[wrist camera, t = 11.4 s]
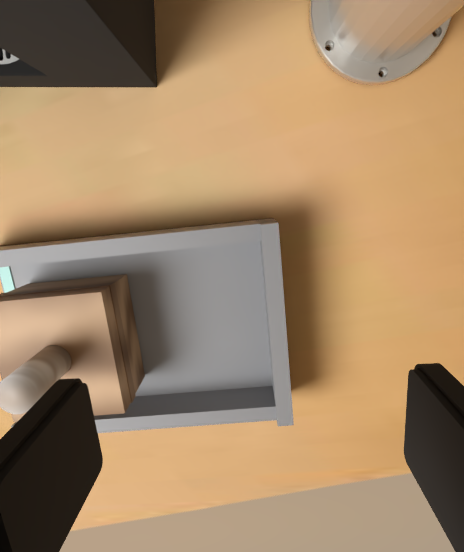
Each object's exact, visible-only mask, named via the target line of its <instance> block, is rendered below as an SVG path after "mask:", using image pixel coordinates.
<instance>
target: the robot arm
mask: <svg viewBox="0 0 464 552" xmlns="http://www.w3.org/2000/svg"><path fill="white" fill-rule="evenodd" d="M463 6H464V0H310V7H309V20H310V29H311V33H312V38H313V41H314V43H315V46H316V48H317V50H318V53H319V54H320V55H321V57H322V58H323V60H324V61H325V63H326V64H327V65H328V66H329V67H330V68H331V69H332V70H333V71H334V72H335V73H337V74H338V75H340V76H342V77H343V78H345V79H347V80H350V81H352V82H355V83H359V84H366V85H378V84H385V83H389V82H392V81H396V80H398V79H400V78H402V77H404V76H406V75H408V74H409V73H411V72H412V71H414V70H415V69H416V68H418V67H419V66H420V65H421V64H422V63H424V62H425V61H426V60H427V59H428V58H429V57H430V56H431V54H432V53H433V52H434V51H435V50H436V48H437V47H438V46H439V44H440V42H441V41H442V39H443V37H444V36H445V34H446V31H447V28H448V26H449V23H450V21H451V18H452V16H453V15H454V14H455V13H456V12H457V11H459V10H460V9H461V8H462V7H463ZM432 33H433V34H434V36H433V35H432ZM325 47H329V48H330V51H327V50H326V49H325ZM378 73H381V74H382V77H380V76H379V74H378ZM404 455H405V459H406V462H407V464H408V466H409V468H410V470H411V472H412V474H413V475H414V477H415V479H416V481H417V483H418V484H419V486H420V488H421V490H422V492H423V494H424V495H425V497H426V499H427V501H428V503H429V504H430V506H431V508H432V510H433V512H434V513H435V515H436V517H437V518H438V521H439V522H440V524H441V526H442V528H443V530H444V532H445V533H446V535H447V537H448V539H449V540H450V542H451V544H452V546H453V548H454V550H455V551H456V552H464V386H463V385H462V384H461V383H460V382H459V381H458V380H457V379H456V378H455V377H454V376H453V375H452V374H450V373H449V372H448V371H447V370H446V369H445V368H444V367H443V366H442V365H441V364H439V363H434V364H417V365H416V366H415V369H414V370H410V371H409V375H408V390H407V407H406V424H405V440H404ZM102 461H103V459H102V453H101V448H100V443H99V438H98V433H97V428H96V424H95V419H94V414H93V409H92V404H91V399H90V394H89V389H88V386H87V384H86V383H82V381H81V379H79V378H73V379H59V380H57V381H56V382H55V383H54V384H53V385H52V386H51V387H50V388H49V389H48V391H47V392H46V393H45V394H44V395H43V396H42V397H41V398H40V399H39V400H38V401H37V402H36V403H35V404H34V405H33V406H32V407H31V408H30V409H29V410H28V411H27V412H26V413H25V414H24V415H23V416H22V418H21V419H20V420H19V421H18V422H17V423H16V424H15V425H14V426H13V427H12V428H11V429H10V430H9V431H8V432H7V433H6V434H5V435H4V436H3V437H2V438H1V439H0V552H59V551H60V549H61V547H62V545H63V543H64V541H65V539H66V537H67V535H68V533H69V531H70V529H71V527H72V526H73V524H74V522H75V520H76V518H77V516H78V514H79V512H80V510H81V508H82V506H83V504H84V502H85V500H86V498H87V496H88V494H89V492H90V491H91V489H92V487H93V485H94V483H95V481H96V479H97V477H98V475H99V473H100V471H101V468H102Z"/></svg>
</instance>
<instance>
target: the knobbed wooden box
mask: <svg viewBox="0 0 464 552" xmlns="http://www.w3.org/2000/svg"><path fill="white" fill-rule="evenodd" d="M0 375H1V378H2V381H1V382H0V408H2V409H3V410H4V411H6V412H8V413H11V414H12V418H13V421H14V422H17V421H19V420H20V419H21V418H22V416H23V415H24V414H25V413H26V412H27V411H28V410H29V409H30V408H31V407H32V406H33V405H34V404H35V403H36V402H37V401H38V400H39V399H40V398H41V397H42V396H43V395H44V394H45V393H46V392H47V391H48V389H49V388H50V387H51V386H52V385H53V384H54V383H55V382H56V381H57V380H59V379H73V378H79V379H81V381H82V383H86V384H87V386H88V389H89V394H90V399H91V404H92V409H93V414H94V416H96V415H109V414H123V413H125V412H126V410H127V409H128V407H129V405H130V403H132V402H133V400H134V398H135V397H136V392H137V390H138V388H139V386H140V384H141V383H142V381H143V379H144V377H145V374H144V368H143V362H142V357H141V351H140V345H139V340H138V334H137V328H136V323H135V317H134V311H133V306H132V300H131V294H130V289H129V283H128V277H127V274H123V275H113V276H103V277H93V278H82V279H72V280H62V281H51V282H41V283H31V284H26V285H24V286H21V287H19V288H16V289H14V290H12V291H9V292H7V293H1V294H0Z"/></svg>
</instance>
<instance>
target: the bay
mask: <svg viewBox="0 0 464 552" xmlns="http://www.w3.org/2000/svg"><path fill="white" fill-rule="evenodd" d="M123 274H127V277H128V283H129V289H130V294H131V300H132V306H133V311H134V317H135V323H136V328H137V334H138V340H139V345H140V351H141V357H142V362H143V368H144V374H145V377H144V379H143V381H142V383H141V384H140V386H139V388H138V390H137V392H136V397H135V398H134V400H133V402H132V403H130V405H129V407H128V409H127V410H126V412H125V413H123V414H109V415H96V416H94V419H95V424H96V428H97V433H106V432H119V431H133V430H147V429H161V428H174V427H188V426H202V425H216V424H229V423H243V422H257V421H271V420H277V424H278V426H288V425H294V424H293V410H292V397H291V384H290V370H289V357H288V343H287V330H286V317H285V303H284V290H283V277H282V263H281V250H280V237H279V223H278V222H277V221H276V220H274V219H273V218H270V219H260V220H251V221H241V222H232V223H222V224H212V225H203V226H193V227H183V228H174V229H164V230H154V231H145V232H135V233H125V234H116V235H106V236H96V237H87V238H77V239H67V240H58V241H48V242H38V243H29V244H19V245H10V246H0V280H1V284H2V288H3V292H4V293H7V292H9V291H12V290H14V289H16V288H19V287H21V286H24V285H26V284H31V283H41V282H51V281H62V280H72V279H82V278H93V277H103V276H113V275H123ZM17 422H18V421H17ZM17 422H15V423H14V424H13V425H12V426H11V427H13V426H14V425H15V424H16V423H17Z"/></svg>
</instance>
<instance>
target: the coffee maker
mask: <svg viewBox="0 0 464 552" xmlns="http://www.w3.org/2000/svg"><path fill="white" fill-rule="evenodd" d="M0 87H157V75H156V46H155V17H154V0H0Z"/></svg>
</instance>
